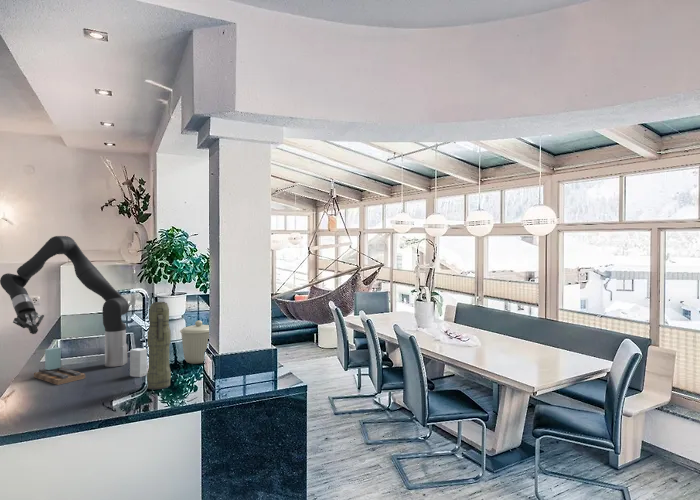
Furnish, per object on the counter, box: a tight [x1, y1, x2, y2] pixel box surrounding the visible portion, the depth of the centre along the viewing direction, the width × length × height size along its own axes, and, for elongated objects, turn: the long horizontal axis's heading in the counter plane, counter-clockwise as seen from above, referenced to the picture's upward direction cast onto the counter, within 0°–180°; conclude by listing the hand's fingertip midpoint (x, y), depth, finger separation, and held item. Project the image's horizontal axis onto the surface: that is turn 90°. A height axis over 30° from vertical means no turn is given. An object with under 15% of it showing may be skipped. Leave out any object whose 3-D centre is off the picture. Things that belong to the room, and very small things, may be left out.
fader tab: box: [44, 346, 62, 372], centre depth 192 cm, size 4×5×10 cm
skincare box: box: [129, 347, 148, 378], centre depth 192 cm, size 6×4×12 cm
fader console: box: [33, 367, 86, 386], centre depth 189 cm, size 22×11×3 cm, turn 59°
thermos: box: [146, 301, 172, 390], centre depth 177 cm, size 9×12×35 cm
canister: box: [179, 319, 210, 365], centre depth 217 cm, size 18×18×21 cm
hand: (34, 332), depth 202 cm, fingers closed
